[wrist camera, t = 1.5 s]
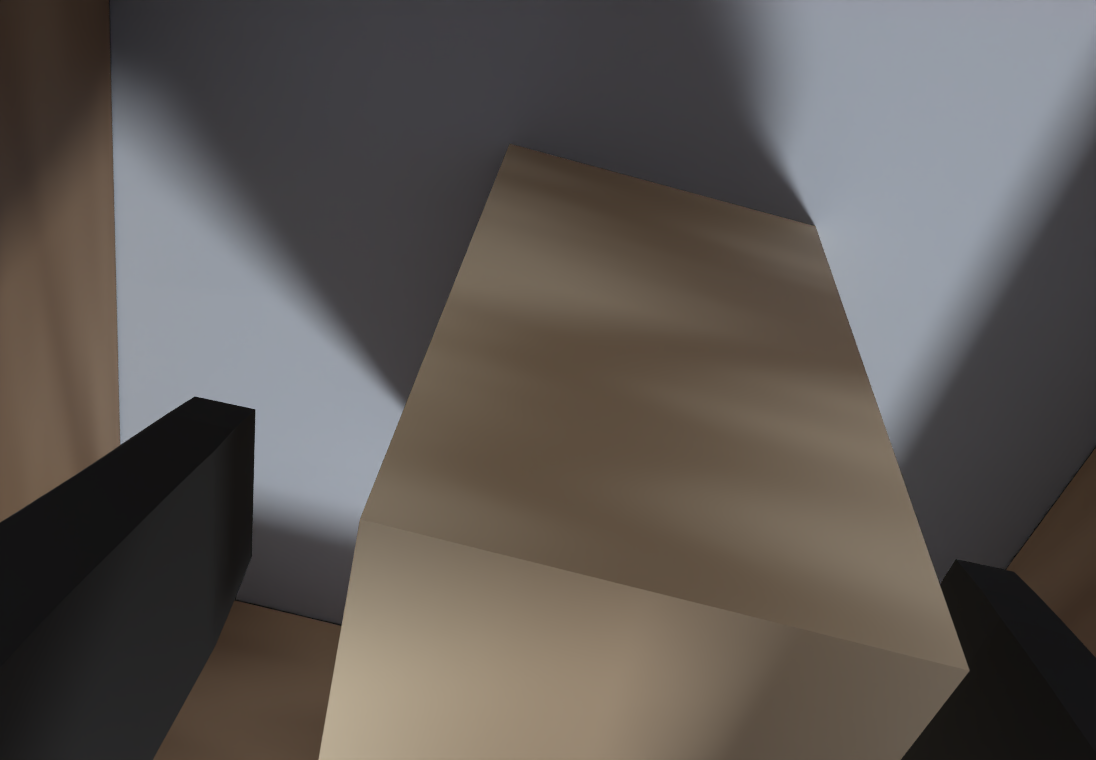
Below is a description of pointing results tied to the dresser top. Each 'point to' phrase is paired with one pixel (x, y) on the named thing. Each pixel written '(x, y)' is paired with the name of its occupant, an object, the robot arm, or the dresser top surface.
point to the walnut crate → (93, 389)
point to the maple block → (638, 503)
